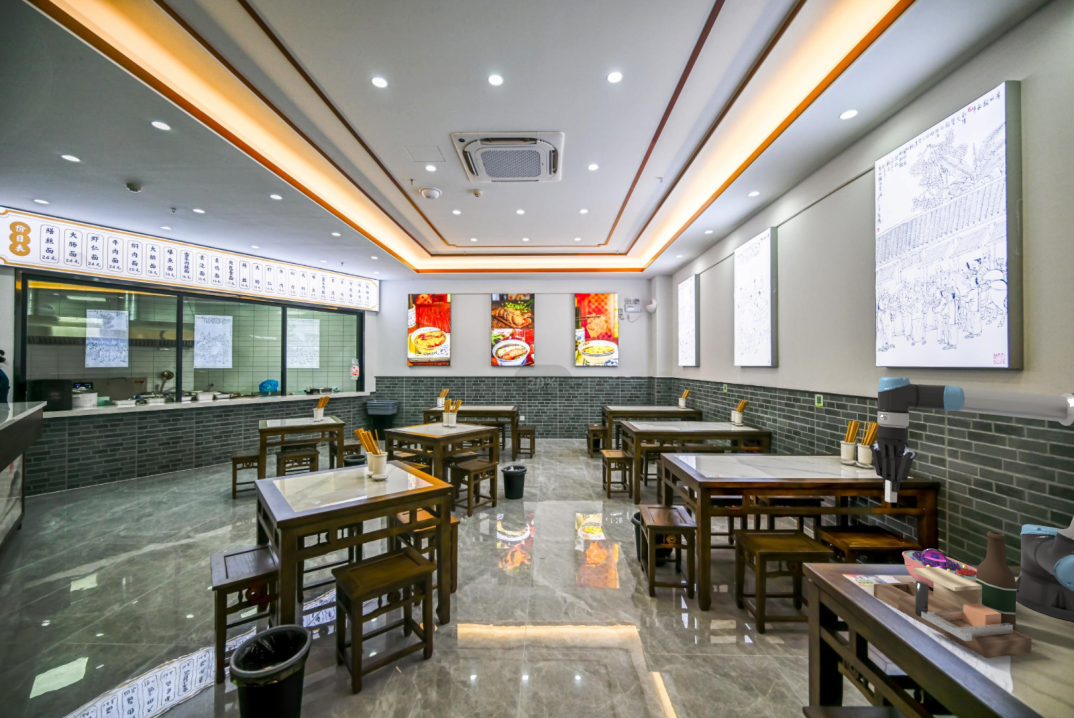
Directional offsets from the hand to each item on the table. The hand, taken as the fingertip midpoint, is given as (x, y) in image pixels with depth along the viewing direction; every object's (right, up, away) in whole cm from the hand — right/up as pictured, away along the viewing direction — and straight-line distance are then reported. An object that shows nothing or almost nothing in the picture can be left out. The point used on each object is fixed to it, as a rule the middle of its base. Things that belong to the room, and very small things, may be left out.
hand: (890, 501), depth 130 cm
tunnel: (0, -22, -17) cm, 28 cm away
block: (+1, -22, -26) cm, 34 cm away
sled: (-4, -22, -26) cm, 34 cm away
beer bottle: (+13, -27, -18) cm, 35 cm away
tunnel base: (-2, -26, -19) cm, 32 cm away
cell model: (+14, -27, -1) cm, 31 cm away
